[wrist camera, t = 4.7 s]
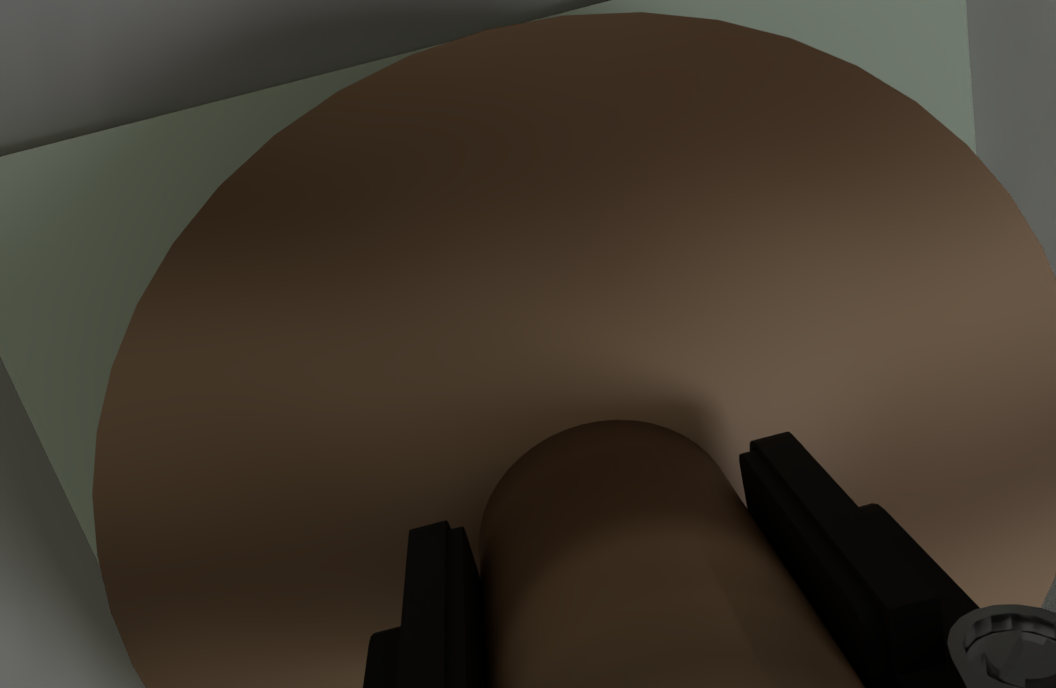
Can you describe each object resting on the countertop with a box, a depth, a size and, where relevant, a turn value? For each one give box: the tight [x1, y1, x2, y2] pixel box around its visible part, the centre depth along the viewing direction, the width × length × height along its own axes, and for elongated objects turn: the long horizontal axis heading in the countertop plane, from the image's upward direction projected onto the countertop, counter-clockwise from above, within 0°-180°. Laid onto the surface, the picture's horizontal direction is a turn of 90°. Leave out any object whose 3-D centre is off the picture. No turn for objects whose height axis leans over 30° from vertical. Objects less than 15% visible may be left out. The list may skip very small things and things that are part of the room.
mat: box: [0, 0, 976, 566], centre depth 15 cm, size 16×16×1 cm
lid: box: [92, 12, 1056, 688], centre depth 10 cm, size 15×15×7 cm
